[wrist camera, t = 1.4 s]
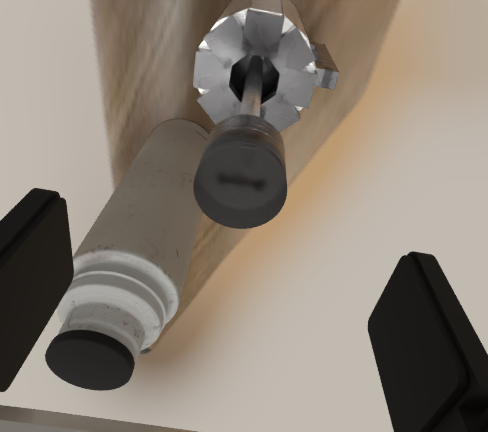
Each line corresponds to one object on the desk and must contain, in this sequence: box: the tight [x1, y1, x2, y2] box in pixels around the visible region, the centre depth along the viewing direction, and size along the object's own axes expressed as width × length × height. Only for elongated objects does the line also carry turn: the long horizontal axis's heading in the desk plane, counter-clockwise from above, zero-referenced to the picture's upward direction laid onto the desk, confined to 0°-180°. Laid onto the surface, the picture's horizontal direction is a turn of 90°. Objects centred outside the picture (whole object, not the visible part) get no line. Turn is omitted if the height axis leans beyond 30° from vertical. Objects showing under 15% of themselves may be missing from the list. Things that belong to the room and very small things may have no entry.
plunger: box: [193, 54, 287, 229], centre depth 21 cm, size 5×5×18 cm
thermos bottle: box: [45, 119, 209, 390], centre depth 33 cm, size 8×8×28 cm
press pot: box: [193, 0, 339, 132], centre depth 30 cm, size 8×10×16 cm
